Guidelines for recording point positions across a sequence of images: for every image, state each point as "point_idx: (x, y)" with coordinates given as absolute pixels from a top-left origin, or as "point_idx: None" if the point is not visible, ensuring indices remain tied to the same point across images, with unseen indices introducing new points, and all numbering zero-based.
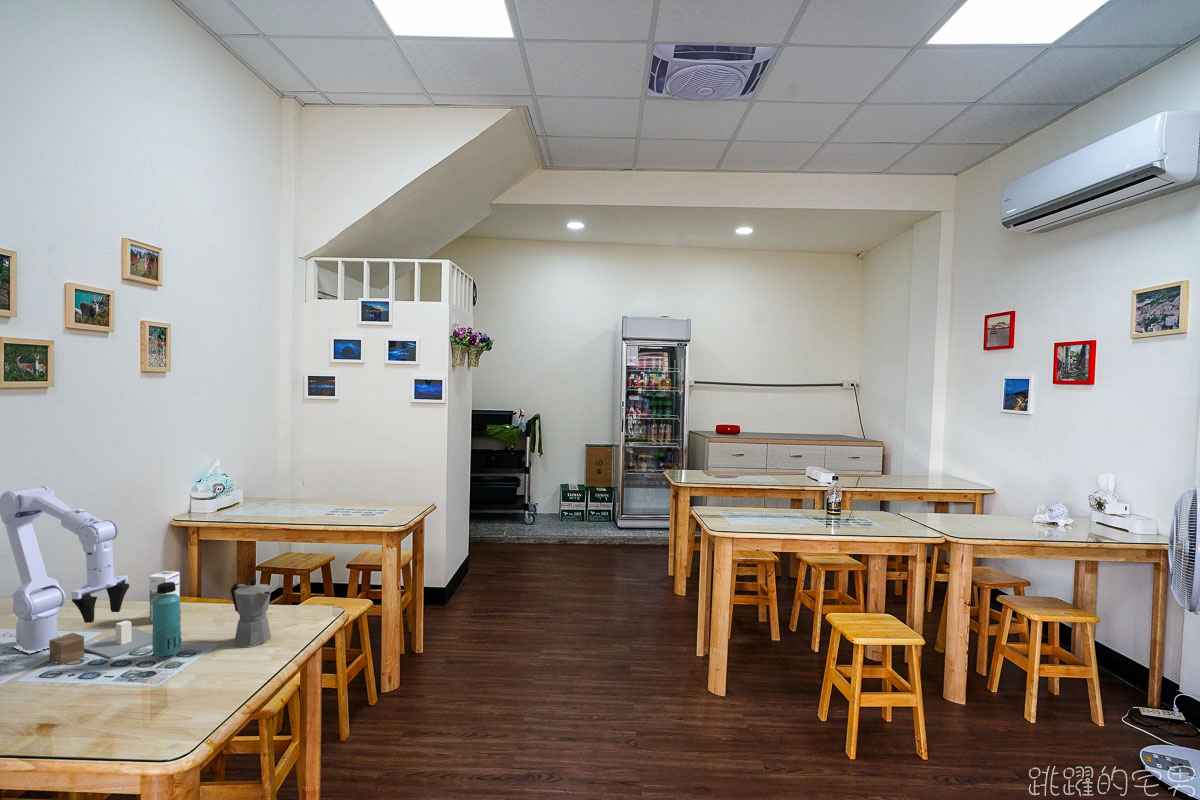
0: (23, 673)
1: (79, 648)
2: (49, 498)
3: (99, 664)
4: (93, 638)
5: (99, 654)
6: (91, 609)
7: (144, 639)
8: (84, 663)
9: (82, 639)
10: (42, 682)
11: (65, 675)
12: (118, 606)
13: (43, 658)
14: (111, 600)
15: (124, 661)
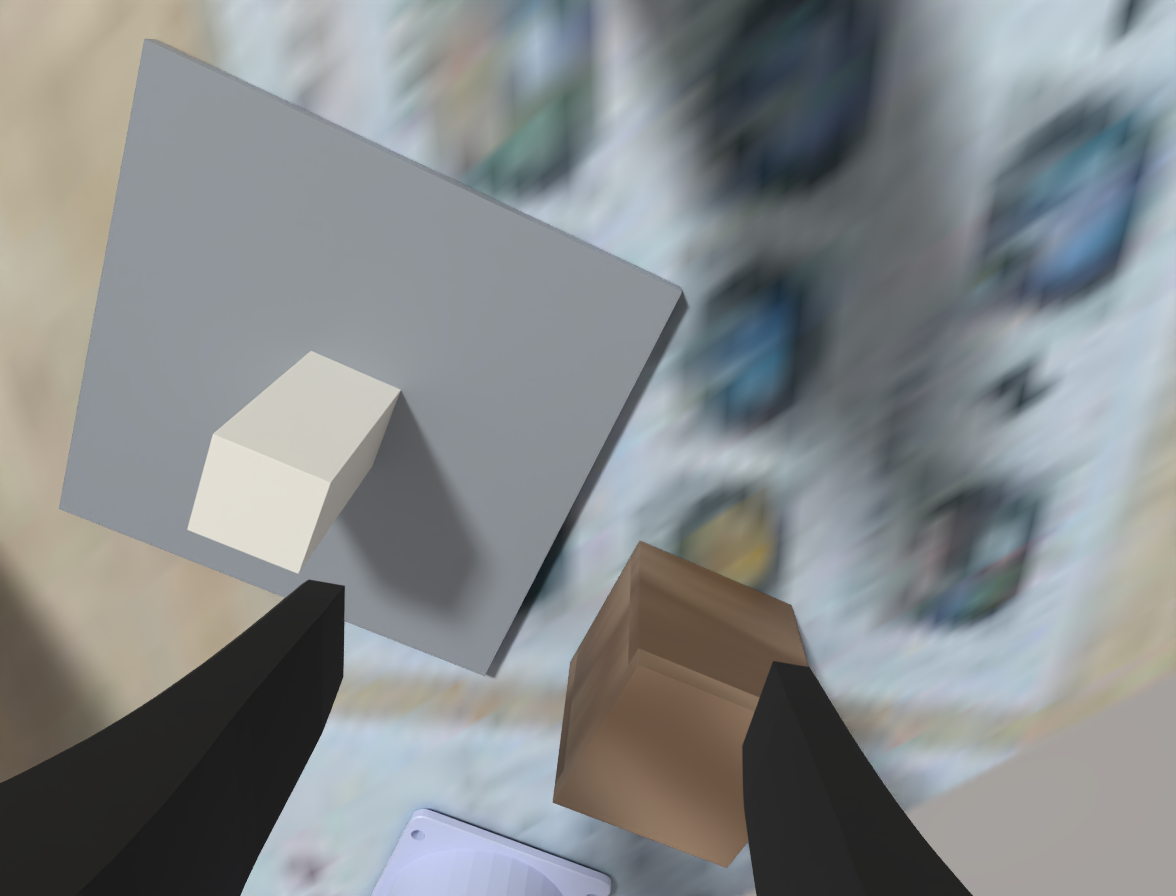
0: (919, 739)
1: (672, 607)
2: None
3: (807, 303)
4: None
5: (598, 448)
6: (911, 848)
7: (248, 248)
8: (773, 450)
9: (648, 650)
10: (1132, 518)
11: (1019, 436)
12: (303, 641)
13: None
14: (253, 839)
15: (751, 89)
